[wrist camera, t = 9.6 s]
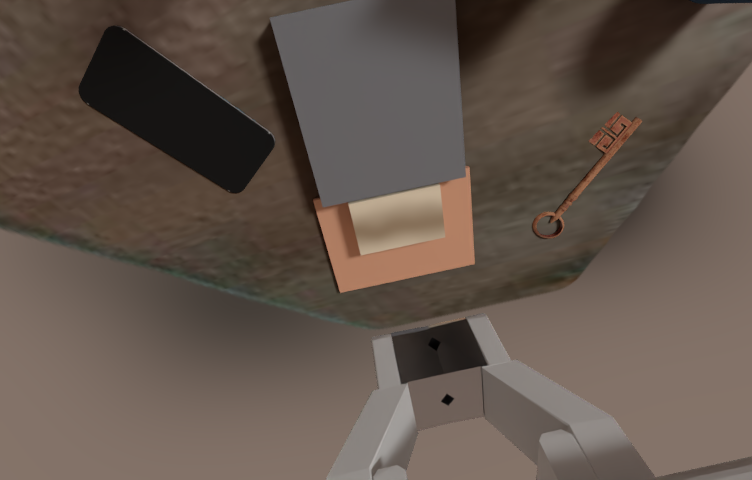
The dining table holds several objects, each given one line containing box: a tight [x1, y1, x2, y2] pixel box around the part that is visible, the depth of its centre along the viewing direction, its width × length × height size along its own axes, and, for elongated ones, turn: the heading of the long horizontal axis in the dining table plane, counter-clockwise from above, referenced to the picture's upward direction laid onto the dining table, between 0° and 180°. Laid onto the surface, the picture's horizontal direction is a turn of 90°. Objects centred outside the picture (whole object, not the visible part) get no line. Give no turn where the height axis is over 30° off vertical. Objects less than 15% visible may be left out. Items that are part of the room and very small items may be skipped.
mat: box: [313, 166, 475, 293], centre depth 42 cm, size 12×16×1 cm
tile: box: [348, 183, 445, 255], centre depth 40 cm, size 6×9×2 cm, turn 100°
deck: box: [270, 0, 466, 207], centre depth 34 cm, size 16×14×2 cm
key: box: [532, 112, 642, 238], centre depth 41 cm, size 6×1×15 cm
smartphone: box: [79, 26, 275, 193], centre depth 34 cm, size 7×1×15 cm
